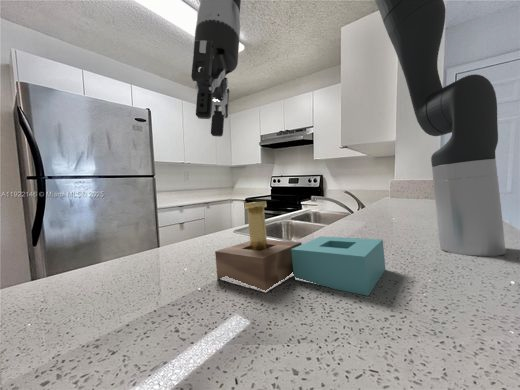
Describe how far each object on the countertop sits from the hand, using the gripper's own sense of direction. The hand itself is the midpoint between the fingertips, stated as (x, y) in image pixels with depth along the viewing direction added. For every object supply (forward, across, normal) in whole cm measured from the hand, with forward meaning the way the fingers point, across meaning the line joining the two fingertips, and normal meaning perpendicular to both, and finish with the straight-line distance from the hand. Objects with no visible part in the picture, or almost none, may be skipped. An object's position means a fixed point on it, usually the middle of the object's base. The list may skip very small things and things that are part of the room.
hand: (210, 128), depth 37 cm
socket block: (+23, 0, -23) cm, 33 cm away
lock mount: (+25, +3, -10) cm, 27 cm away
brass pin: (+25, +3, -10) cm, 27 cm away
